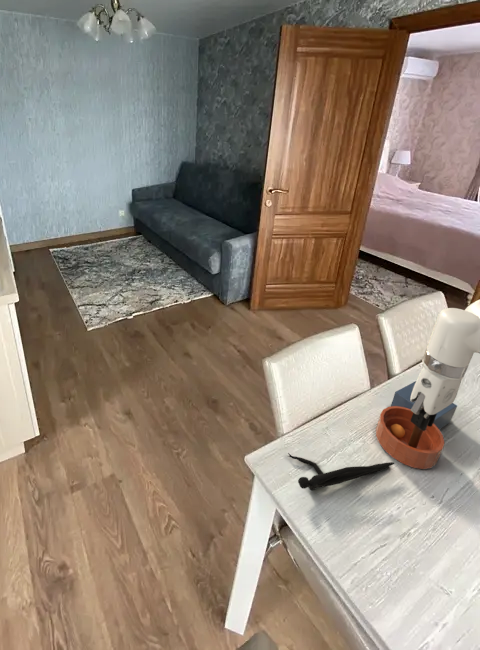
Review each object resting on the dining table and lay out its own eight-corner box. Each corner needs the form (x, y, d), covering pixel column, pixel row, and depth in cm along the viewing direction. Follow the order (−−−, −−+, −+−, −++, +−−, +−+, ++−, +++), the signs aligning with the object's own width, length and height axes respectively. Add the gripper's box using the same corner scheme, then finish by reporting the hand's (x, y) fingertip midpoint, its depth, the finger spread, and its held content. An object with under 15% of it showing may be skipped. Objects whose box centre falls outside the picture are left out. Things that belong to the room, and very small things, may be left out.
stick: (418, 447, 85) (433, 407, 80) (413, 450, 84) (429, 410, 79) (410, 441, 86) (425, 402, 81) (406, 444, 85) (421, 404, 80)
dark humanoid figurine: (378, 425, 85) (288, 441, 79) (403, 464, 79) (307, 485, 73) (363, 439, 90) (277, 455, 84) (385, 477, 83) (293, 497, 78)
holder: (450, 422, 94) (457, 405, 92) (428, 436, 90) (434, 420, 88) (412, 395, 103) (417, 379, 101) (390, 407, 99) (395, 391, 96)
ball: (405, 437, 89) (409, 429, 88) (398, 442, 88) (401, 433, 87) (394, 428, 92) (397, 419, 91) (386, 432, 90) (389, 424, 89)
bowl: (448, 456, 85) (456, 439, 83) (415, 480, 80) (422, 462, 77) (396, 415, 96) (401, 399, 94) (363, 434, 91) (368, 417, 88)
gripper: (442, 386, 69) (416, 450, 76) (483, 362, 75) (456, 423, 82) (405, 362, 75) (384, 424, 82) (446, 342, 82) (424, 401, 88)
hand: (421, 423), depth 82 cm, fingers closed on stick, 1 cm apart
